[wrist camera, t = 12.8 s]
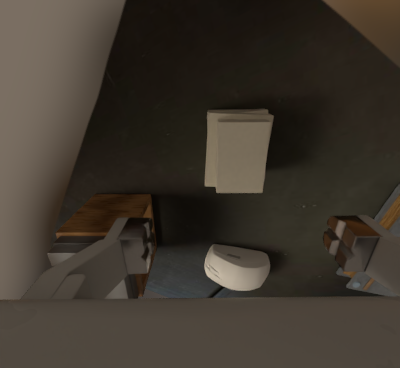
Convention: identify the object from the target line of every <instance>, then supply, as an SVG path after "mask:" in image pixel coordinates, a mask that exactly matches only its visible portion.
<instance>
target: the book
mask: <svg viewBox="0 0 400 368" xmlns="http://www.w3.org/2000/svg"><path fill="white" fill-rule="evenodd" d="M374 220H375V221H376V222H377V223H379V224H380V225H381V226H383V227H384V228H385V229H387V230H388V231H389V232H391V233H392V234H393V235H395V236H396V237H400V183H399V184H398V186H397V187H396V188H395V190H394V191H393V193H392V194H391V196H390V197H389V198H388V200H387V201H386V203H385V204H384V205H383V207H382V208H381V210H380V211H379V213H378V214H377V215H376V217H375V218H374ZM336 273H337V274H338V275H341V276H346V277H351V278H352V279H351V280H350V282H349V283H348V284H347V285H346V287H347V288H350V289H355V290H360V291H365V292H370V293H375V294H380V295H385V296H398V295H396V294H395V293H393V292H392V291H390V290H389V289H387V288H386V287H385V286H383V285H382V284H380V283H379V282H377V281H376V280H374V279H373V278H371V277H370V276H368V275H367V274H365V272H344V271H343V270H342V268H341V267H340V268H339V269H338V271H337V272H336Z"/></svg>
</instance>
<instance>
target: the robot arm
mask: <svg viewBox="0 0 400 368" xmlns="http://www.w3.org/2000/svg"><path fill="white" fill-rule="evenodd" d="M327 225H328V227H329V228H328V229H327V230H326V231H325V232H324V236H323V241H324V245H325V248H326V249H327V251H328V252H329V253H331V254H333V255H334V256H335V261H336V262H337V263H338V265H339V266H340V267H341V268H342V270H343V271H344V272H365V274H367V275H368V276H370V277H371V278H373V279H374V280H376V281H377V282H379V283H380V284H382V285H383V286H385V287H386V288H387V289H389V290H390V291H392V292H393V293H395V294H396V295H398V296H380V297H260V298H163V299H161V298H159V299H158V298H153V299H152V298H151V299H104V298H105V297H106V296H107V295H108V294H109V293H110V292H111V291H112V290H113V289H114V288H115V287H116V286H117V285H118V284H119V283H120V282H121V281H122V280H123V279H124V278H125V277H126V276H127V274H146V273H148V270H149V267H150V263H151V258H150V256H151V255H152V254H153V252H154V247H155V235H154V233H153V232H152V228H153V220H152V218H136V217H130V218H129V217H121V218H117V219H116V221H115V222H114V224H113V226H112V227H111V229H110V230H109V232H108V233H107V235H106V237H105V238H104V240H99V241H97V242H95V243H94V244H92V245H90V246H89V247H87V248H85V249H83V250H82V251H80V252H78V253H76V254H75V255H73V256H71V257H70V258H68V259H66V260H64V261H63V262H61V263H59V264H58V265H56V266H54V267H52V268H51V269H49V270H47V271H45V272H44V273H42V274H41V276H40V277H39V278H38V279H37V280H36V281H35V282H34V284H33V285H32V286H31V287H30V289H29V290H28V291H27V292H26V293H25V294H24V295H23V297H22V298H21V299H20V300H0V368H400V237H396V236H395V235H393V234H392V233H391V232H389V231H388V230H387V229H385V228H384V227H383V226H381V225H380V224H379V223H377V222H376V221H375V220H373V219H372V218H371V217H369V216H367V215H353V216H330V218H329V219H328V222H327Z"/></svg>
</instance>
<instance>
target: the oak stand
mask: <svg viewBox="0 0 400 368" xmlns="http://www.w3.org/2000/svg"><path fill="white" fill-rule="evenodd" d="M121 217H129V218H130V217H136V218H152V220H153V228H152V232H153V233H154V235H155V247H154V252H153V254H152V255H151V256H150V258H151V263H150V267H149V270H148V273H146V274H127V276H126V277H125V278H124V279H123V280H122V281H121V282H120V283H119V284H118V285H117V286H116V287H115V288H114V289H113V290H112V291H111V292H110V293H109V294H108V295H107V296H106V297H105V298H104V299H138V296H143V294H144V290H145V287H146V284H147V280H148V277H149V273H150V270H151V266H152V263H153V260H154V256H155V253H156V249H157V242H156V234H155V226H154V218H153V209H152V201H151V194H95V195H94V196H93V197H92V198H91V199H90V200H89V201H88V202H86V203H85V204H84V205H83V206H82V207H81V208H80V209H79V210H78V211H77V212H76V213H75V214H74V215H73V216H72V217H71V218H70V219H69V220H68V221H67V222H66V223H65V224H64V225H63V226H62V227H61V228H60V229H59V230H58V231H57V232H56V236H57V240H56V241H55V242H54V243H53V245H54V246H53V247H52V248H51V249H50V251H49V252H48V253H47V255H48V257H49V260H50V262H51V265H52V267H54V266H56V265H58V264H59V263H61V262H63V261H64V260H66V259H68V258H70V257H71V256H73V255H75V254H76V253H78V252H80V251H82V250H83V249H85V248H87V247H89V246H90V245H92V244H94V243H95V242H97V241H99V240H104V238H105V237H106V235H107V233H108V232H109V230H110V229H111V227H112V226H113V224H114V222H115V221H116V219H117V218H121Z"/></svg>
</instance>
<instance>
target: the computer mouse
mask: <svg viewBox="0 0 400 368" xmlns="http://www.w3.org/2000/svg"><path fill="white" fill-rule="evenodd" d="M204 268H205V271H206V274H207V276H208V277H209V278H210V279H212V280H213V281H215V282H217V283H218V284H220V285H222V286H224V287H227V288H229V289H232V290H239V291H249V290H253V289H256V288H259V287H261V285H262V284H263V282H264V281H265V279H266V277H267V276H268V274H269V271H270V262H269V258H268V255H267V254H266V253H264V252H262V251H256V250H250V249H245V248H239V247H233V246H227V245H219V244H213V245H212V246H211V247H210V248H209V251H208V253H207V256H206V259H205V265H204Z"/></svg>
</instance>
